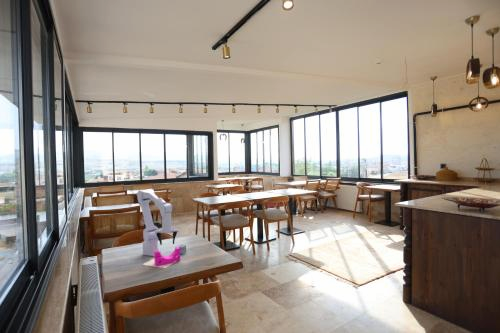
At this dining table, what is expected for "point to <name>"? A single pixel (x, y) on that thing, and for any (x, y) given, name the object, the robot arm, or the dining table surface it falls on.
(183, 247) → the slate-blue cube
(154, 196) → the robot arm
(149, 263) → the letter board
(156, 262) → the toy block
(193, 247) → the dining table surface
